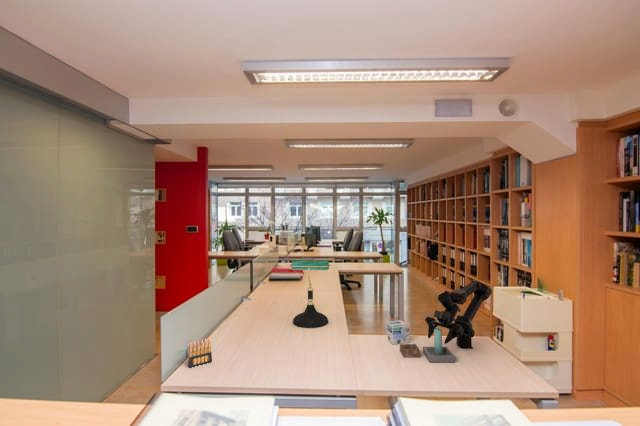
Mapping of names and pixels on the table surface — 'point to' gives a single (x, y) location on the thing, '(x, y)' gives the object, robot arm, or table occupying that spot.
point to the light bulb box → (398, 332)
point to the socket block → (409, 350)
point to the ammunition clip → (199, 353)
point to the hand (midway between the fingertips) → (436, 340)
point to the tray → (445, 358)
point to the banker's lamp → (310, 296)
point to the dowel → (438, 342)
